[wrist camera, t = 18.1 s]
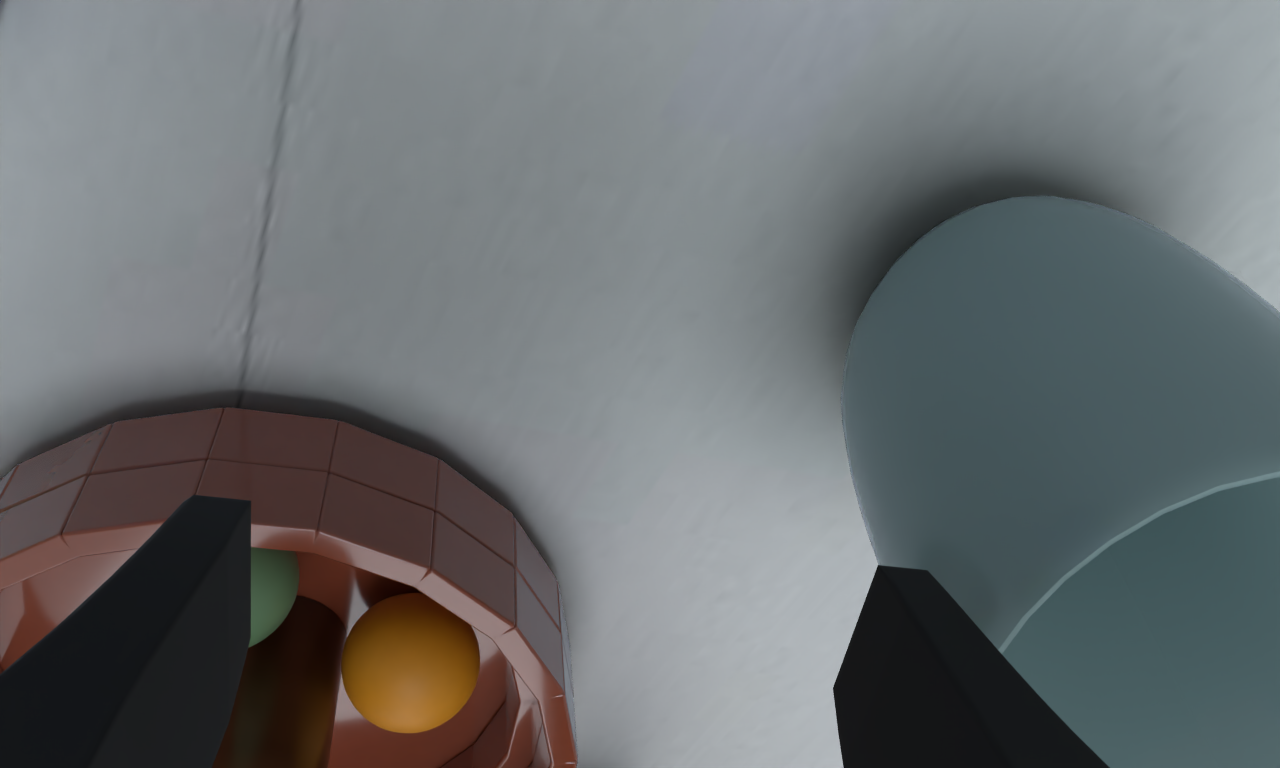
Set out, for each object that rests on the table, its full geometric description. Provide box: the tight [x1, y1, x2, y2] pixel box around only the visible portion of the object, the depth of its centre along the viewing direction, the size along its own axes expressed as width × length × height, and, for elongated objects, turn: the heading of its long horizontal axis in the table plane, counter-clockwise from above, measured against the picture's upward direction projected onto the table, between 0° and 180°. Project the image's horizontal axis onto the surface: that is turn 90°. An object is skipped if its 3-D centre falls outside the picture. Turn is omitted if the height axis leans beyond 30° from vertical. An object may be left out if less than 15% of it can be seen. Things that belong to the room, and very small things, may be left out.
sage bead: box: [248, 547, 299, 648], centre depth 24 cm, size 3×3×3 cm
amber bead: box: [341, 593, 480, 733], centre depth 25 cm, size 3×3×3 cm
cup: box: [841, 196, 1280, 768], centre depth 20 cm, size 8×8×10 cm
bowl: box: [0, 407, 578, 768], centre depth 26 cm, size 14×14×4 cm
